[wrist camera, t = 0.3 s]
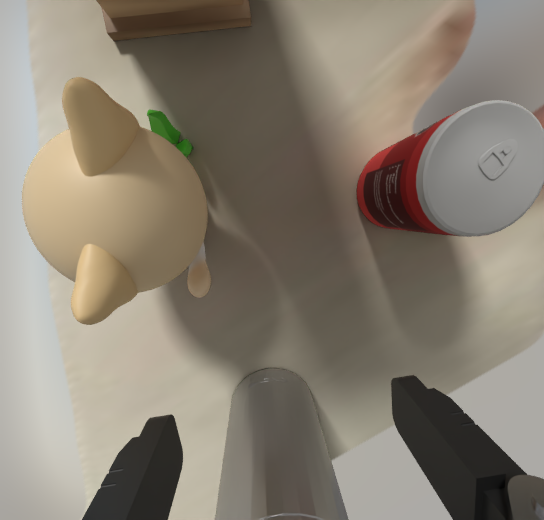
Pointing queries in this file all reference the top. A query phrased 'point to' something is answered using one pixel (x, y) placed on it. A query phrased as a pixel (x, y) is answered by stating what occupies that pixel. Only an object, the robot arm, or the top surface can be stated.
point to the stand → (171, 16)
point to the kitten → (115, 204)
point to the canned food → (458, 173)
